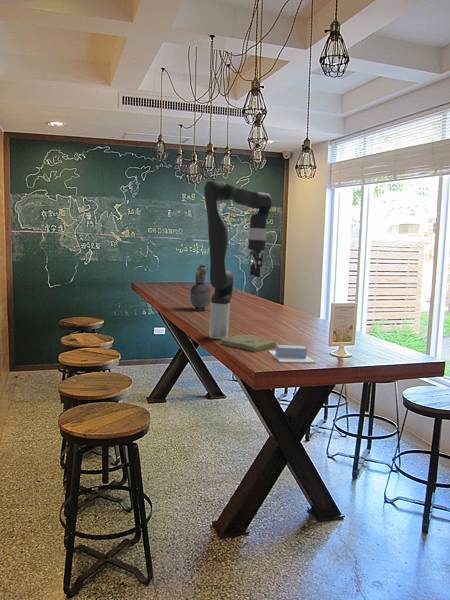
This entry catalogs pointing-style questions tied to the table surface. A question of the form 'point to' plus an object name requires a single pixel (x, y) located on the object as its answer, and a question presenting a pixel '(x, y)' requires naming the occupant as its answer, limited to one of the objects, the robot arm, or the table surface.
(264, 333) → the table surface
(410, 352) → the table surface
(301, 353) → the block
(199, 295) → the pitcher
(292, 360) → the mat
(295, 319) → the table surface
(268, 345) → the decorative tile
